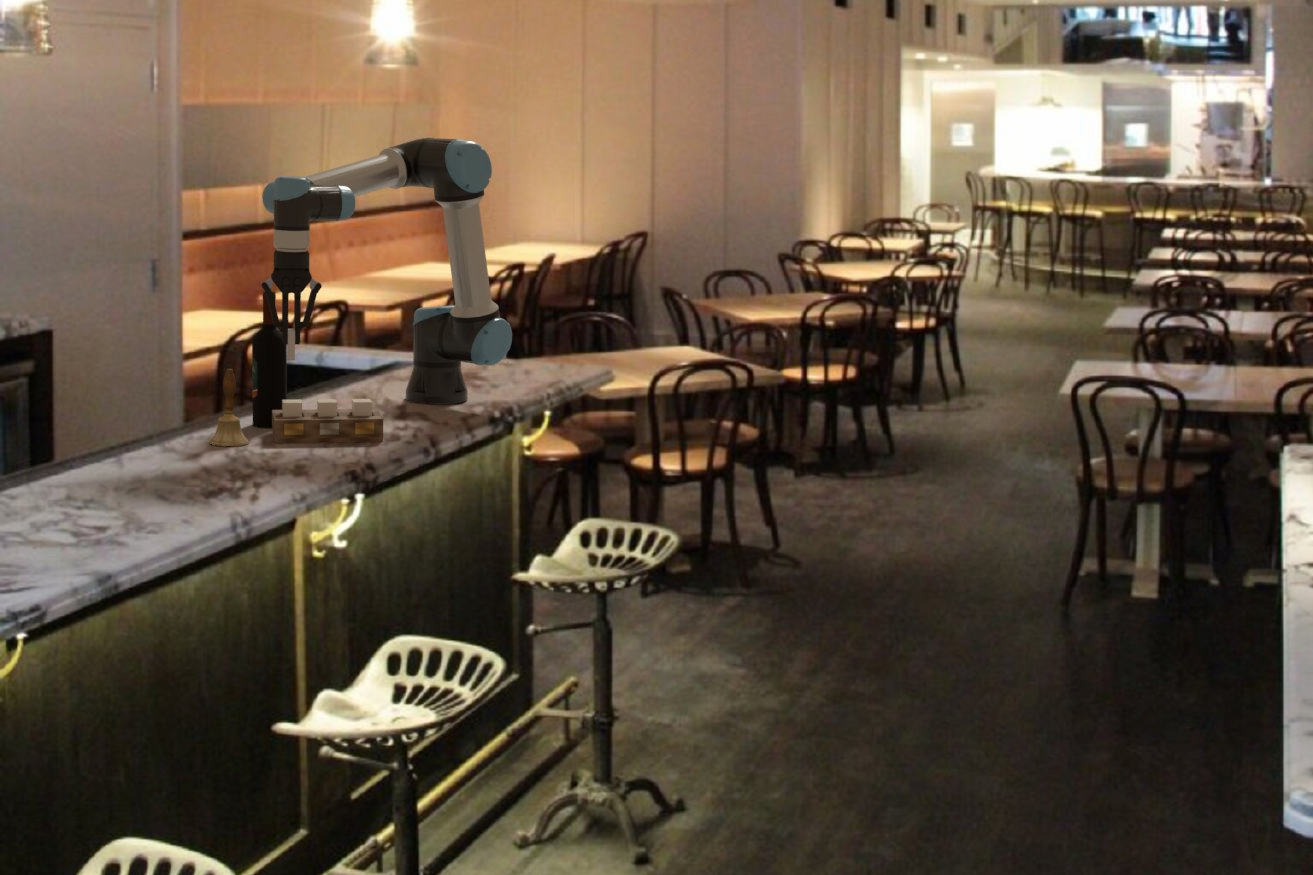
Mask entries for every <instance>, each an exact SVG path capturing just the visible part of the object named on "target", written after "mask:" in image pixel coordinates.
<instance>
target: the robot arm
mask: <svg viewBox="0 0 1313 875" xmlns="http://www.w3.org/2000/svg"><path fill="white" fill-rule="evenodd" d="M491 161H492V160H491V158H490V157H489V154H488V152H487V150H485V148H484V147H483V146H481V144H479V143H477V142H475V141H472V140H467V139H462V138H459V139H458V138H434V137H423V138H418V139H413V140H410V141H407V142H404V143H400V144H397V145H394V146H390V147H386V148H383V149H382V150H381V151H380V152H379V154H378V155H376V156H372V157H368V158H364V159H361V160H358V161H354V162H351V163H347V164H344V165H340V166H337V167H334V168H330V169H328V170H324V171H320V172H317V173H313V174H310V175H306V176H293V175H292V176H287V175H286V176H278V177H276V178H275V180H273V181H271V182H268V183H267V185H266V186H265V187H264V189H263V192H262V203H263V206H264V208H265V210H266V211H267V212H268V213H270V214H272V215H273V248H274V249H275V250H274V251H273V270H272V273H271V275H270V277H269V278H268V279H265V280H264V281H261V282H260V285H261V288H262V290H263V291H265V292H266V295H267V299H268V303H269V307H270V311H271V315H272V319H273V323H274V326H276V328H280V329H281V333H282V342H283V344H287V361H296V345H300V343H301V330H302V329H304V328H307V327H309V326H310V323H311V320H312V315H313V311H314V307H315V303H316V299H317V295H318V293H319V291H320V290H321V289H322V288H323V286H322V284H321V282H319V281H317V280H315V279H313V276H312V274H311V271H310V251H308V249H310V248H311V246H310V241H311V240H310V235H311V234H310V232H311V231H310V230H311V229H310V228H311V222H315V221H317V222H319V221H320V222H324V221H328V222H329V221H336V222H339V221H345V220H348V219H349V218H351V217H352V215H354V212H355V210H356V198H357V197H360V196H362V195H366V194H370V193H372V192H377V191H379V190H383V189H386V188H390V189H392V190H398V189H402V188H405V187H406V188H407V187H415V188H417V187H421V188H428V189H433V195H434V201H435V203H437V204H439V205H440V206H441V207H442V213H443V214H442V215H443V221H444V227H445V228H444V229H445V235H446V236H445V237H446V245H447V251H448V258H449V265H450V272H451V274H450V275H451V280H452V288H453V294H454V295H453V297H454V303H455V304H454V305H439V306H438V305H437V306H435V305H434V306H426V307H420V308H417V309H416V310H415V311H414V313H413V323H412V337H413V338H412V339H413V340H412V343H413V344H412V345H413V346H412V351H413V354H412V355H413V356H412V357H413V358H412V359H413V362H412V365H413V366H412V369H411V374H410V377H409V380H408V382H407V386H406V389H405V400H407V401H408V402H412V403H417V404H427V405H428V404H429V405H451V404H460V403H463V402H467V401H468V398H469V397H468V393H469V392H468V388H467V385H466V382H465V378H464V375H463V372H462V362H463V363H466V364H467V363H468V364H472V365H473V364H474V365H476V366H495V365H497V364H499V363H500V362H501V361H503V360H504V358H505V357H506V356H507V355H508V352H509V350H510V349H511V346H512V342H513V331H512V327H511V325H510V323H509V322H508V321H507V320H505V319H504V318H503V317H500V316H501V315H500V314H501V313H500V308H499V305H498V304H497V303H496V302H494V301H493V300H492V296H491V295H492V294H491V286H490V279H489V272H488V264H487V256H486V255H487V254H486V248H485V247H486V246H485V240H484V232H483V224H482V217H481V207H480V202H481V200H482V199H483V198H484V197H485V189H486V188H487V187H488V186H489V184H490V183H491V182H490V179H491V178H492V174H493V169H492V168H493V166H492V162H491ZM273 283H274V284H275V286H276V288H277V289H278V290H279V292H281V321H280V319H279V315H278V311H277V306H276V301H275V302H274V298H273V294H272V289H273V288H274V286H273ZM308 285H309V289H310V293H309V296H308V300H307V304H306V308H305V312H304V315H303V319H301V318H302V317H301V311H302V310H301V309H302V308H301V307H302V306H301V305H302V304H301V300H302V296H301V295H302V293H303V292H304V290H306V288H307V286H308ZM290 294H293V299H294V300H293V301H294V303H293V308H294V309H293V311H294V313H293V315H294V316H293V319H294V320H293V326H294V328H289V296H290ZM301 320H302V321H301Z"/></svg>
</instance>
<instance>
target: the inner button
mask: <svg viewBox="0 0 1313 875" xmlns="http://www.w3.org/2000/svg"><path fill="white" fill-rule="evenodd" d="M351 409H352V416H372V409H373V401H372V400H371V398H352V399H351Z"/></svg>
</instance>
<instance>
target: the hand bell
mask: <svg viewBox="0 0 1313 875" xmlns="http://www.w3.org/2000/svg"><path fill="white" fill-rule="evenodd" d="M222 387H223V393H224V394H223V395H224V397H225V404H224V405H225V406H224V415H222V416H221V417H218V419H217V426H216V427H217V428H216V430H215V433H214V435H213V436H212V437H211V438H210V439H209V441H208V444H209V443H210V445H211V444H212V446H215V445H217V446H216V447H226V446H231V447H242V446H246V445H249V444H250V441H249V439H248V438H247V437H246V435H244V433H243V430H242V427H241V420H240V418H239V417H237V416H236V415H234V396H235V392H236V376H235V374H234V370H233V368H226V370H225V374H224V377H223V380H222Z"/></svg>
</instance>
